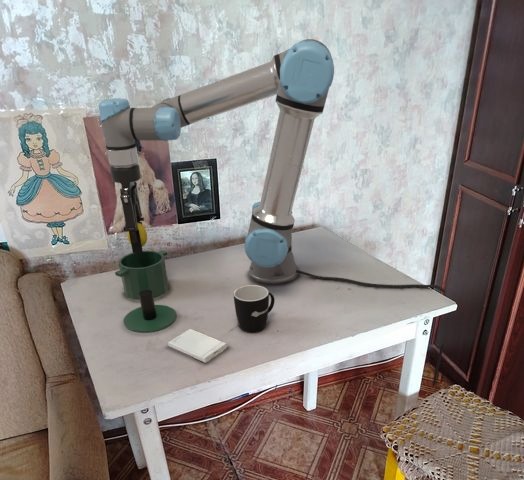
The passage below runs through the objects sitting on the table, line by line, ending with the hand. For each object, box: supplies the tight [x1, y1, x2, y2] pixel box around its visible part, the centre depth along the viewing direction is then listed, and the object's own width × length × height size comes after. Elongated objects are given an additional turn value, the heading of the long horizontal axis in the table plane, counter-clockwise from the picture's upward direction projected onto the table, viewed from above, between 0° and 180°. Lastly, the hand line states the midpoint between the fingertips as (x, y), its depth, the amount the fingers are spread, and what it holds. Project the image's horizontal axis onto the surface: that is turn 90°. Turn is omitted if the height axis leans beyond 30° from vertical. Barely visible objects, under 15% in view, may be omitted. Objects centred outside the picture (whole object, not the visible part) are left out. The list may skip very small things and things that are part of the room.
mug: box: [233, 284, 276, 334], centre depth 130 cm, size 12×9×10 cm
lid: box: [123, 290, 177, 334], centre depth 134 cm, size 14×14×9 cm
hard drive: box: [167, 328, 228, 364], centre depth 124 cm, size 2×8×12 cm
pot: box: [114, 250, 170, 301], centre depth 148 cm, size 13×18×10 cm
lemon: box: [126, 223, 148, 247], centre depth 141 cm, size 6×6×8 cm
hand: (139, 247), depth 143 cm, fingers closed on lemon, 5 cm apart
